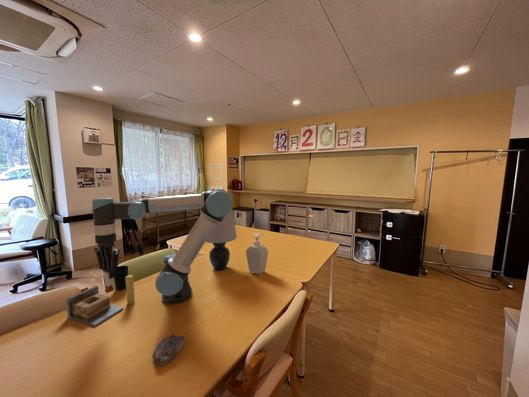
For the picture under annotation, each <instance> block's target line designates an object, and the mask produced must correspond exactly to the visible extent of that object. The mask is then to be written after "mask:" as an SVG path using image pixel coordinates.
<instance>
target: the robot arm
mask: <svg viewBox="0 0 529 397" xmlns="http://www.w3.org/2000/svg"><path fill="white" fill-rule="evenodd" d="M114 200H115V199H114V198H113V197H98V198H97V197H96V198H94V199H93V200H92V202H91V203H92V209H91V210H92V217H93V231H94V232H93V233H94V240H95V241H94V242H95V244H96V245H97V247H94V249H93V250H94V252H95V255H96V258H97V263H98V268H99V270H102V272H103V277H104V285H105V287H110V286H113V285H115V281H114V270H116V269H117V268H118V266H119V255H120V251H121V249H120V248H116V244H115V242H116V241H117V232H116V230H117V229H116V220H117V221H118V220H137V219H138V220H139V219H143V218H144V217H145V215H146V214H152V213H153V214H154V213H161V212H162V213H163V212H174V211H183V210H184V211H185V210H195V209H196V210H197V209H200V210H199V211H200V216H198V217H199V218H198V219H197V221H196V222H195V223H194V225H193V226H192V228H191V230H190V231H189V233H188V234H187V236H186V238H185V239H184V241H183V242H182V244H181V246H180V247H179V248H178V250H177V252H176V253H171V254H167V255H165V256H164V257H163V267H162V269H161V271H160V272H159V274H158V275H157V277H156V278H155V283H154V284H155V285H154V286H155V289H156V291H157V292H158V293H159V294H161V301H162V302H163V303H165V304H168V305H176V304H180V303H184V302H185V301H187V300H189V299H190V298H192V296H193V288H192V287H191V284H190V281H189V274H190V273H191V271H192V268H191V265H192V264H193V262H194V260H195V259H196V257H197V256H198V254H199V252H200V251H201V250H202V248H203V246H204V245H205V243H207V242H206V240H207V239H208V237H209V235H210V234H211V232H212V231H213V229H214V227H215V226H216V224H218V223H221V222H222V221H223V219H224V218H225V216H226V215H227V214H228V213H229V212H230V211H232V208H233V205H234V204H233V198H232V196H231V195H230V194H229V192H228V191H227V190H225V189H220V188H217V189H213V190H208V191H202V192H201V193H195V194H184V195H171V196H160V197H159V196H157V197H145V198H144V197H139V198H136V199H133V200H130V201H123V202H119V201H118V202H117V201H116V202H115V201H114Z"/></svg>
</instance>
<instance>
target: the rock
mask: <svg viewBox="0 0 529 397" xmlns="http://www.w3.org/2000/svg"><path fill="white" fill-rule="evenodd" d="M185 342H186V338H185V337H184V336H183V335H179V334H178V335H176V334H175V333H173V334H171V335H170V336H168V337H167V338H162V339H161V340H160V341H159V342H158V343H157V345H156V346H155V349H154V350H153V353H152V354H153V355H152V359H153V360H154V363H155V365H156V366H157V367H160V368H161V367H162V366H164V365H166V364H168V363H169V362H171V360H172V359H173V358H174V357H176V355H178V353H180V352H181V350H182V349H183V347H184V345H185Z"/></svg>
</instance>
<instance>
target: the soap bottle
mask: <svg viewBox="0 0 529 397" xmlns="http://www.w3.org/2000/svg"><path fill="white" fill-rule="evenodd" d="M259 236H264V234H263V233H256V234H253V235H252V238H255V240H254V241H253V245H252V246H249V247H247V249H246V251H245V253H246V260H247V266H248V272H249V271H250V272H249V273H251V272H253V273H256V274H260V275H262V274H263V273H262V272H264V271H265V272H266V270H267V269H266V268H267V263H268V256H269V250H268V248H266V246H264V245H262V244H261V240H259V238H260V237H259ZM265 272H264V273H265ZM253 273H252V274H253ZM261 273H262V274H261ZM256 274H255V275H256Z"/></svg>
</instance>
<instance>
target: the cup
mask: <svg viewBox="0 0 529 397" xmlns="http://www.w3.org/2000/svg"><path fill="white" fill-rule="evenodd" d="M126 276H129V266H128V265H120V266H119V265H118V268H117V269H116V270H114V286H115V290H116V291H117V290H121V291H124V290H123V289H125V288H126ZM125 290H126V289H125Z"/></svg>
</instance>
